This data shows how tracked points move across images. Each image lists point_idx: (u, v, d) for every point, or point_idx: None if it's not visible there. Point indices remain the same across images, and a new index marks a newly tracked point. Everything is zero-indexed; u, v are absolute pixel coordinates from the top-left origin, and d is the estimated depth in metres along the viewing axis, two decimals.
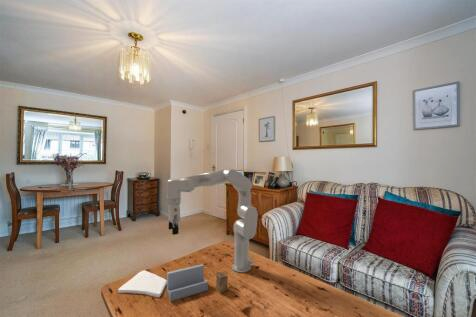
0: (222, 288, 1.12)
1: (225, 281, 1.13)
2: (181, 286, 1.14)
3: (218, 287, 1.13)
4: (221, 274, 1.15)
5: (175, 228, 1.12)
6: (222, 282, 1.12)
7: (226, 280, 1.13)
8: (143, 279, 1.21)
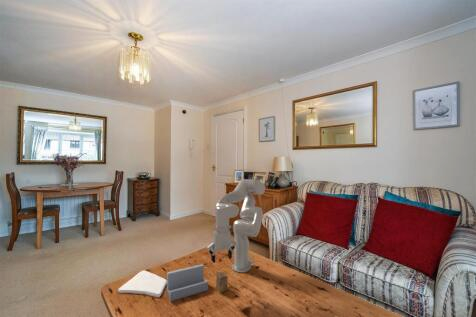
0: (222, 288, 1.12)
1: (225, 281, 1.13)
2: (181, 286, 1.14)
3: (218, 287, 1.13)
4: (221, 274, 1.15)
5: None
6: (222, 282, 1.12)
7: (226, 280, 1.13)
8: (143, 279, 1.21)
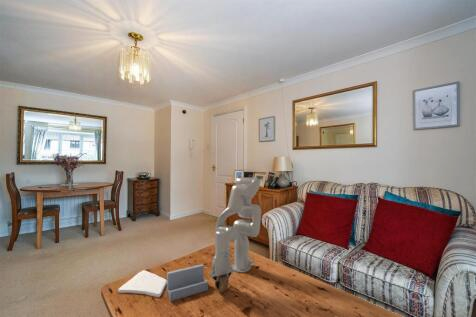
0: (222, 288, 1.12)
1: (225, 281, 1.13)
2: (181, 286, 1.14)
3: None
4: None
5: None
6: (222, 282, 1.12)
7: (226, 280, 1.13)
8: (143, 279, 1.21)
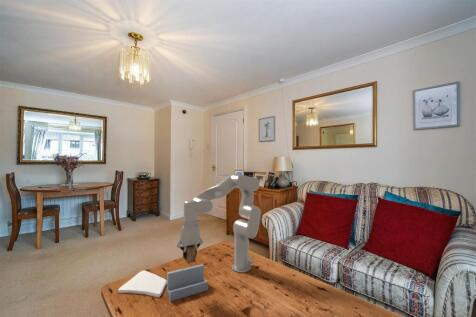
0: (189, 258, 1.10)
1: (193, 251, 1.11)
2: (181, 286, 1.14)
3: None
4: None
5: None
6: (189, 252, 1.10)
7: (194, 251, 1.11)
8: (143, 279, 1.21)
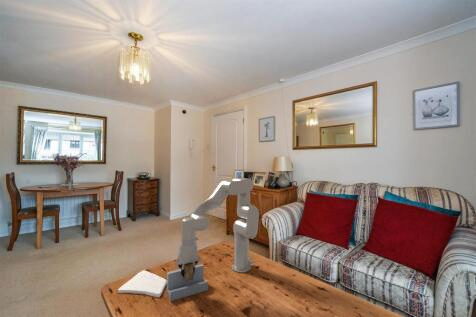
0: (187, 276, 1.10)
1: (191, 269, 1.11)
2: (181, 286, 1.14)
3: (184, 275, 1.12)
4: None
5: None
6: (187, 270, 1.10)
7: (192, 268, 1.12)
8: (143, 279, 1.21)
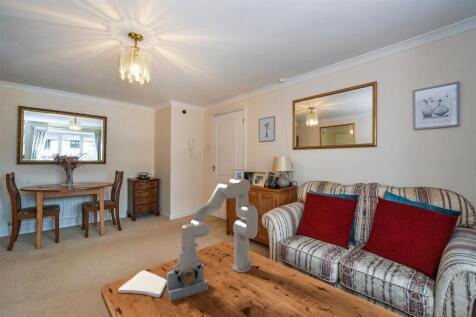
0: None
1: (191, 279, 1.11)
2: (181, 286, 1.14)
3: (184, 285, 1.12)
4: (187, 271, 1.14)
5: None
6: (187, 280, 1.10)
7: (192, 278, 1.12)
8: (143, 279, 1.21)
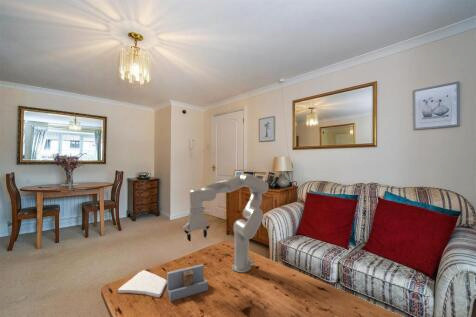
0: None
1: (191, 279, 1.11)
2: (181, 286, 1.14)
3: (184, 285, 1.12)
4: (187, 271, 1.14)
5: None
6: (187, 280, 1.10)
7: (192, 278, 1.12)
8: (143, 279, 1.21)
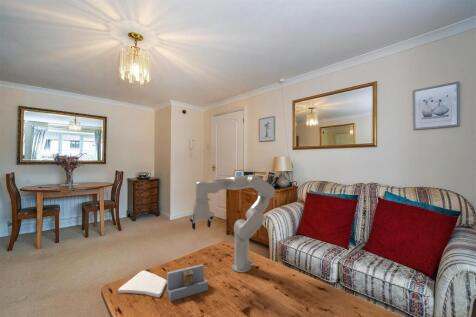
0: None
1: (191, 279, 1.11)
2: (181, 286, 1.14)
3: (184, 285, 1.12)
4: (187, 271, 1.14)
5: None
6: (187, 280, 1.10)
7: (192, 278, 1.12)
8: (143, 279, 1.21)
